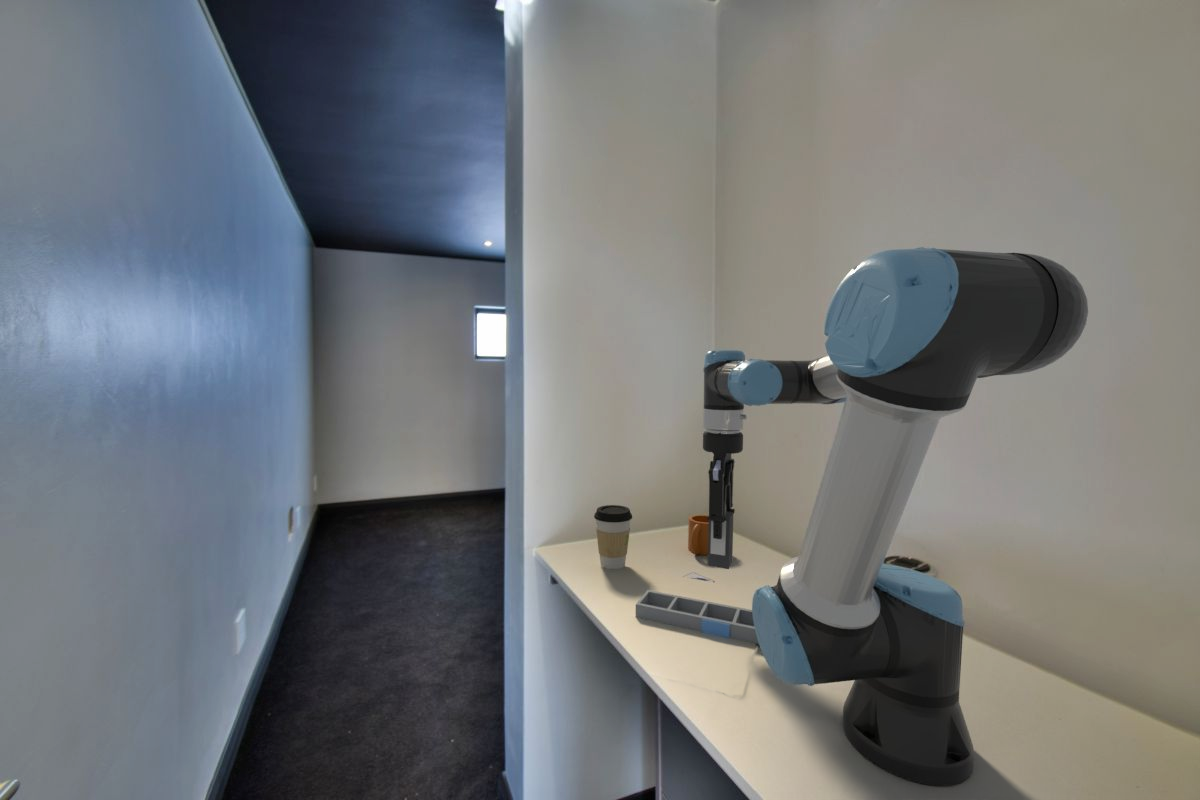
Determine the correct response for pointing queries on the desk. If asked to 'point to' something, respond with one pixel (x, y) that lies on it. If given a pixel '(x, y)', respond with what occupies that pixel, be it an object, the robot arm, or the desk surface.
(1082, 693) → the desk surface
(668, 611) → the compartment organizer tray
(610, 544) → the coffee cup
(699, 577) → the smartphone
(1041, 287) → the robot arm
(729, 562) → the grey block with peg
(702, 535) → the mug
